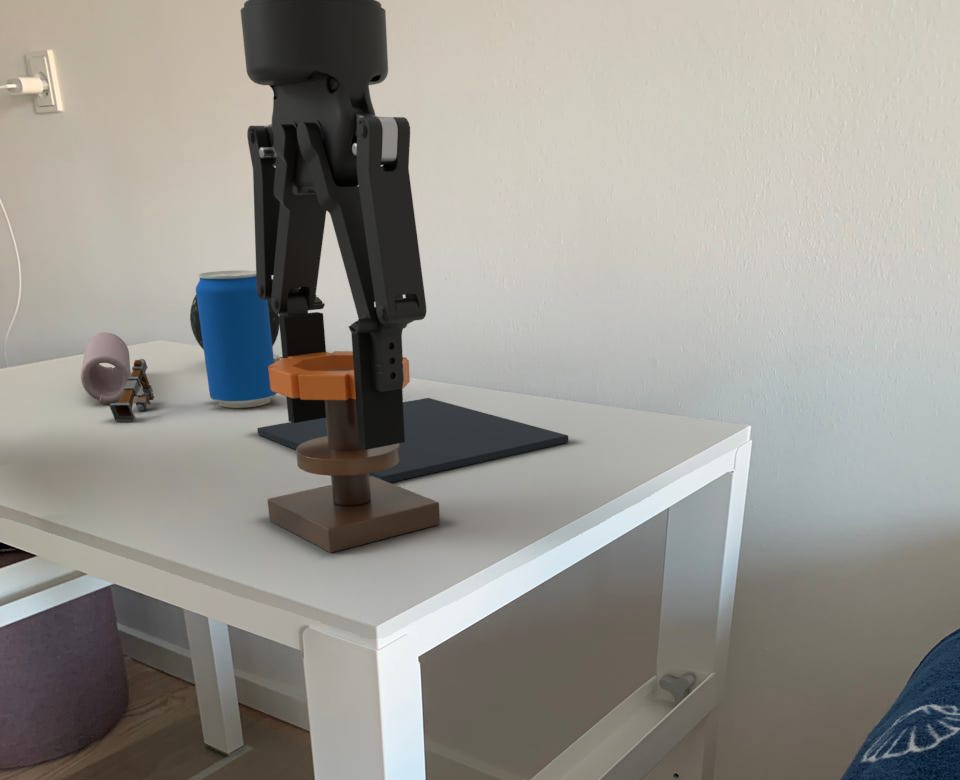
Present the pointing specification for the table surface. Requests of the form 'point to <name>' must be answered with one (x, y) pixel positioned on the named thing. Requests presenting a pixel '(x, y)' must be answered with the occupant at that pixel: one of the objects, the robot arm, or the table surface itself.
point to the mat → (436, 438)
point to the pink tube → (100, 379)
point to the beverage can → (235, 338)
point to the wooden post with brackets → (133, 393)
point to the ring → (318, 376)
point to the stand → (350, 490)
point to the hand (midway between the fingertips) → (344, 430)
